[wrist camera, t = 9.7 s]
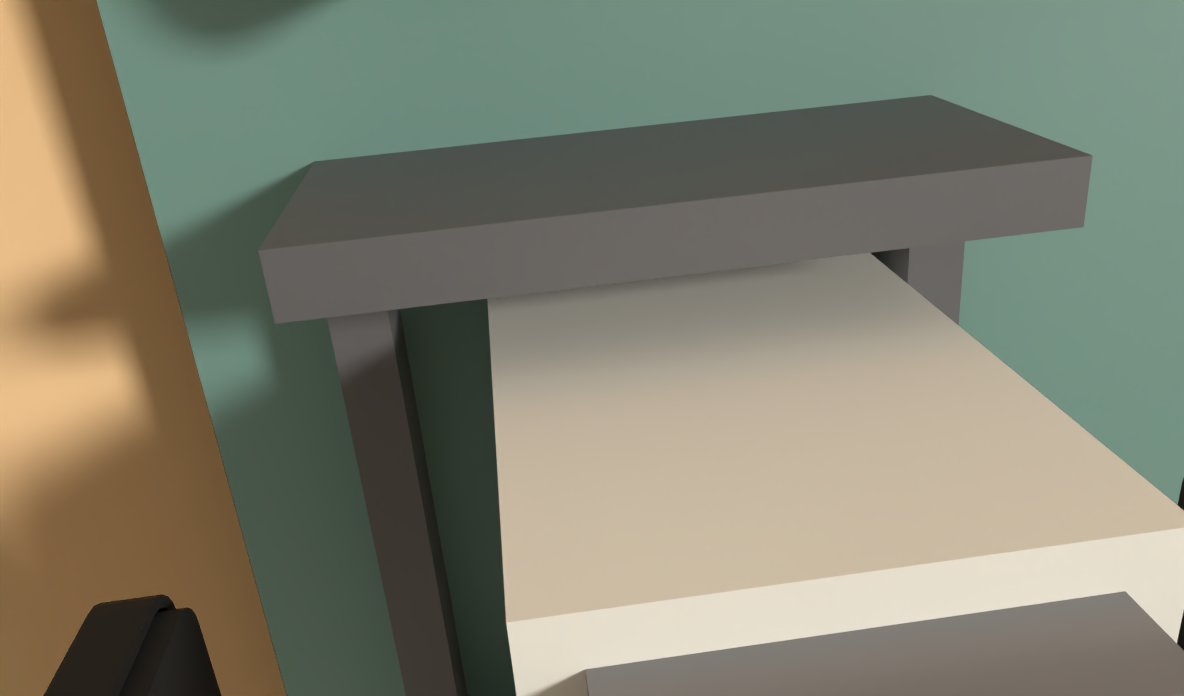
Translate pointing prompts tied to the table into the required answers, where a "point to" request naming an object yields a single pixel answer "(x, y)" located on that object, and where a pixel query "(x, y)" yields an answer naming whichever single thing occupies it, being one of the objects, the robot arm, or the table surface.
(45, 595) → the table surface
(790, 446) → the plug
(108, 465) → the table surface
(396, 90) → the board
